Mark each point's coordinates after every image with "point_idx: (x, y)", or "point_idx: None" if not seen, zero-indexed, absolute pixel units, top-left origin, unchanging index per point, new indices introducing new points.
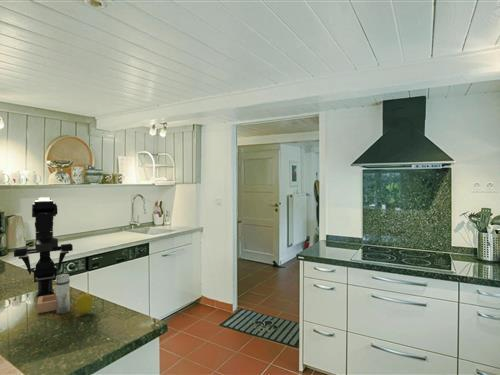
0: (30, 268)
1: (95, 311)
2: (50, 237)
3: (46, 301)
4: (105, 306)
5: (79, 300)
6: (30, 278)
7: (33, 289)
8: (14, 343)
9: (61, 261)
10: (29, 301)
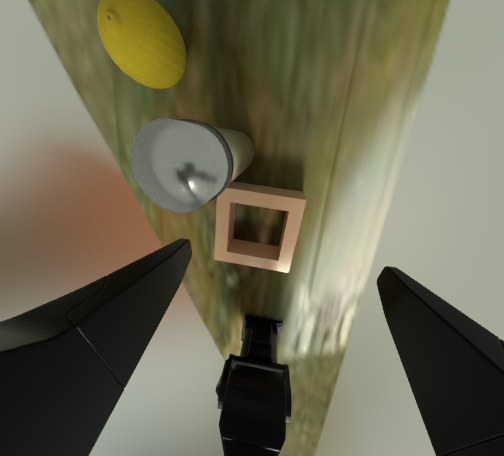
0: (416, 312)
1: None
2: None
3: (269, 250)
4: (110, 102)
5: (149, 4)
6: None
7: None
8: None
9: (107, 281)
10: (302, 301)
